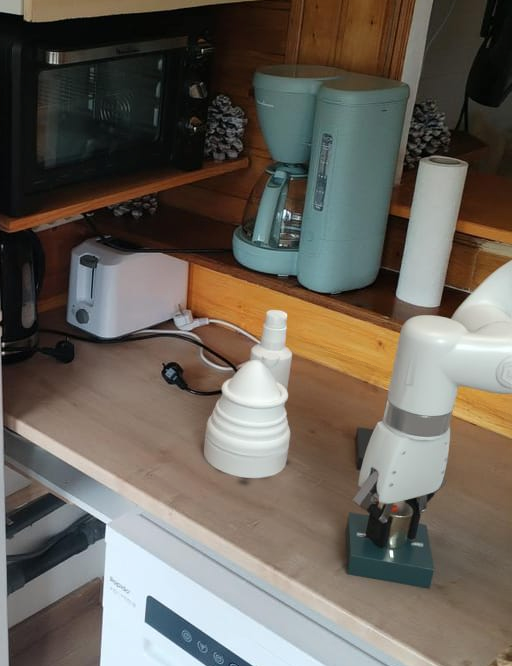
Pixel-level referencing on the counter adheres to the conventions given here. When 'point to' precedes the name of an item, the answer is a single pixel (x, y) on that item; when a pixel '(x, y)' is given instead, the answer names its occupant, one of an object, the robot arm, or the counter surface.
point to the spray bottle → (275, 345)
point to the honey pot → (250, 423)
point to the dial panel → (388, 556)
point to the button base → (362, 444)
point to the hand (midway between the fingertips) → (390, 536)
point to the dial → (399, 524)
